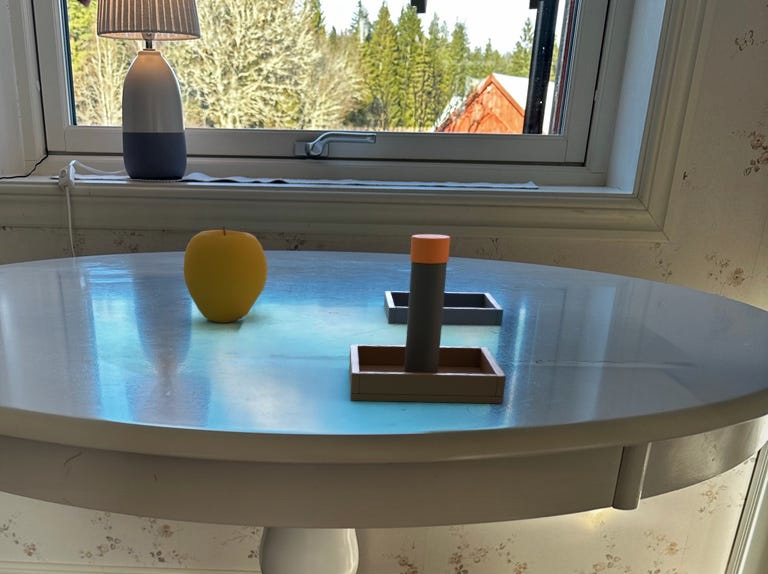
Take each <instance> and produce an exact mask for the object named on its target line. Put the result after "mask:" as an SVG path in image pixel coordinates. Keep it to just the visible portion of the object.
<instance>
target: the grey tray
mask: <svg viewBox="0 0 768 574" xmlns="http://www.w3.org/2000/svg"><path fill="white" fill-rule="evenodd" d="M408 306H409V291H402V290H401V291H399V290H398V291H396V290H392V291H390V290H385V291H384V298H383V307H384V312H385V316H386V320H387V324H388V325H407V321H408ZM503 317H504V309H503V307H502V306H501V305H500V304H499V302H498V301H497V300H496V299H495V298H494V297H493V295H491V293H489V292H467V291H466V292H461V291H460V292H459V291H458V292H457V291H444V304H443V316H442V326H488V327H489V326H491V327H492V326H497V327H499V326H500V327H501V326H502V325H503Z"/></svg>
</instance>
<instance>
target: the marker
mask: <svg viewBox="0 0 768 574" xmlns="http://www.w3.org/2000/svg"><path fill="white" fill-rule="evenodd" d="M450 246H451V236H449V235H446V234H435V233H434V234H433V233H432V234H431V233H430V234H429V233H426V234H413V235H412V236H411V242H410V254H409V255H410V257H409V261H410V277H409V291H408V292H409V306H408V321H407V324H406V337H405V345H406V352H405V367H404V373H438V364H439V352H440V346H441V340H442V339H441V338H442V329H443V328H442V327H443V325H442V316H443V304H444V292H446V291H445V290H446V279H447V268H448V267H447V265H448V262H449V259H450Z"/></svg>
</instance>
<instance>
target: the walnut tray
mask: <svg viewBox="0 0 768 574" xmlns="http://www.w3.org/2000/svg"><path fill="white" fill-rule="evenodd" d="M405 352H406V344H361V343H360V344H359V343H358V344H353V343H352V344H349V365H348V366H349V367H348V371H349V374H348V375H349V394H350V395H349V396H350V401H357V402H359V401H360V402H361V401H362V402H368V401H369V402H410V403H411V402H412V403H418V402H419V403H461V404H465V403H466V404H503V403H504V396H505V390H506V380H507V376H506V374H505V372H504V371H503V369H502V368H501V366H500V365H499V363H498V362H497V360H496V359H495V357H494V356H493V353H492V352H491V351H490V349H489V347H488V346H470V345H469V346H467V345H466V346H465V345H463V346H461V345H440V352H439V364H438V373H404V367H405Z"/></svg>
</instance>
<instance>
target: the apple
mask: <svg viewBox="0 0 768 574" xmlns="http://www.w3.org/2000/svg"><path fill="white" fill-rule="evenodd" d="M183 258H184V259H183V278H184V279H183V280H184V283H185V285H186V288H187V292H188V293H189V295H190V297H191V299H192V301H193V303H194V304H195V306H196V308H197V309H198V312H200V314H201V315H202V316H203V318H205V319H207V320H208V321H210V322H215V323H223V324H224V323H225V324H226V323H232V322H236V321H239V320H242V319H243V318H244V317H245V316H247V315H248V314H249V312H250V311H251V309H252V308H253V306H254V305H255V303H256V301H258V298H259V297H260V295H261V294H262V293H263V291H264V288H265V286H266V282H267V279H268V262H267V261H268V260H267V256H266V254H265V252H264V248H263V246H262V244H261V243H260V241H259V240H258V239H257V237H256V236H255V235H253V234H251V233H250V232H245V231H244V232H243V231H237V230H230V229H229V230H228V229H226V226H222V229H212V230H203V231H200V232H199V233H198V232H197V234H195V235H194V236H192V237H191V239H190V241H189V242H188V244H187V246H186V249H185V252H184V256H183Z"/></svg>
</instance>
